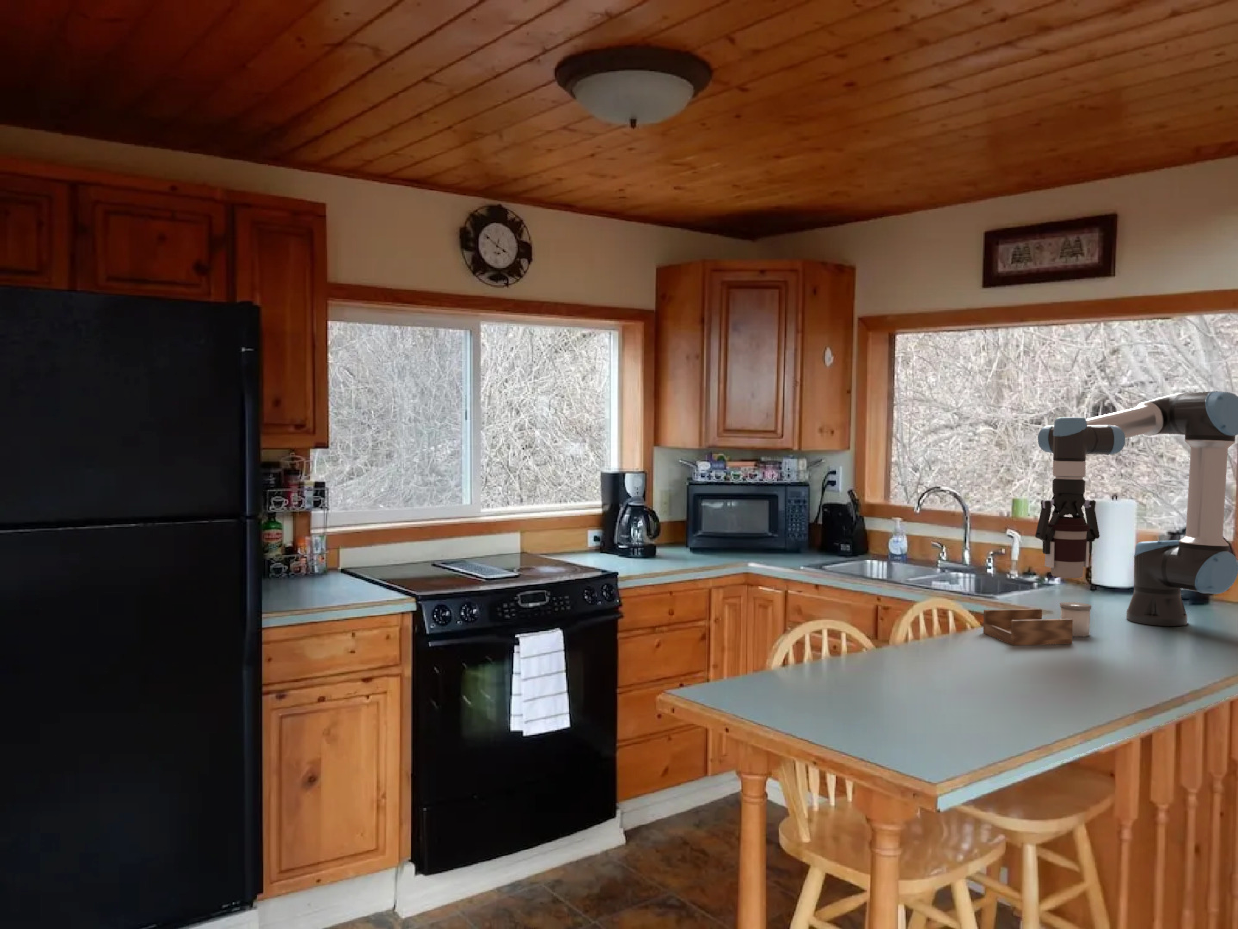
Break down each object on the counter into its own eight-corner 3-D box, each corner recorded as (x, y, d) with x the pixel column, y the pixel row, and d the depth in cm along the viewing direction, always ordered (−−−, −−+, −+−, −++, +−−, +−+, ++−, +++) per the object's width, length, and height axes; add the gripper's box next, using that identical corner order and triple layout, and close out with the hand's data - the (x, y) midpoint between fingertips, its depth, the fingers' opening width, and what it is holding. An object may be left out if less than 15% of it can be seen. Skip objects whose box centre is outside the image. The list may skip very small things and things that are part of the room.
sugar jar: (1079, 630, 263) (1080, 602, 263) (1096, 636, 256) (1097, 607, 255) (1053, 631, 262) (1054, 602, 262) (1069, 637, 255) (1070, 607, 254)
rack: (1039, 631, 261) (1039, 608, 261) (1072, 643, 247) (1072, 619, 246) (983, 632, 259) (983, 609, 259) (1012, 645, 245) (1013, 620, 244)
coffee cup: (1095, 579, 242) (1097, 519, 241) (1056, 579, 241) (1057, 519, 241) (1076, 573, 251) (1078, 515, 251) (1038, 573, 251) (1039, 515, 251)
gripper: (1098, 477, 251) (1096, 564, 252) (1020, 477, 248) (1019, 565, 248) (1117, 478, 243) (1115, 568, 244) (1037, 478, 240) (1035, 569, 241)
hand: (1066, 566), depth 246 cm, fingers closed on coffee cup, 9 cm apart
